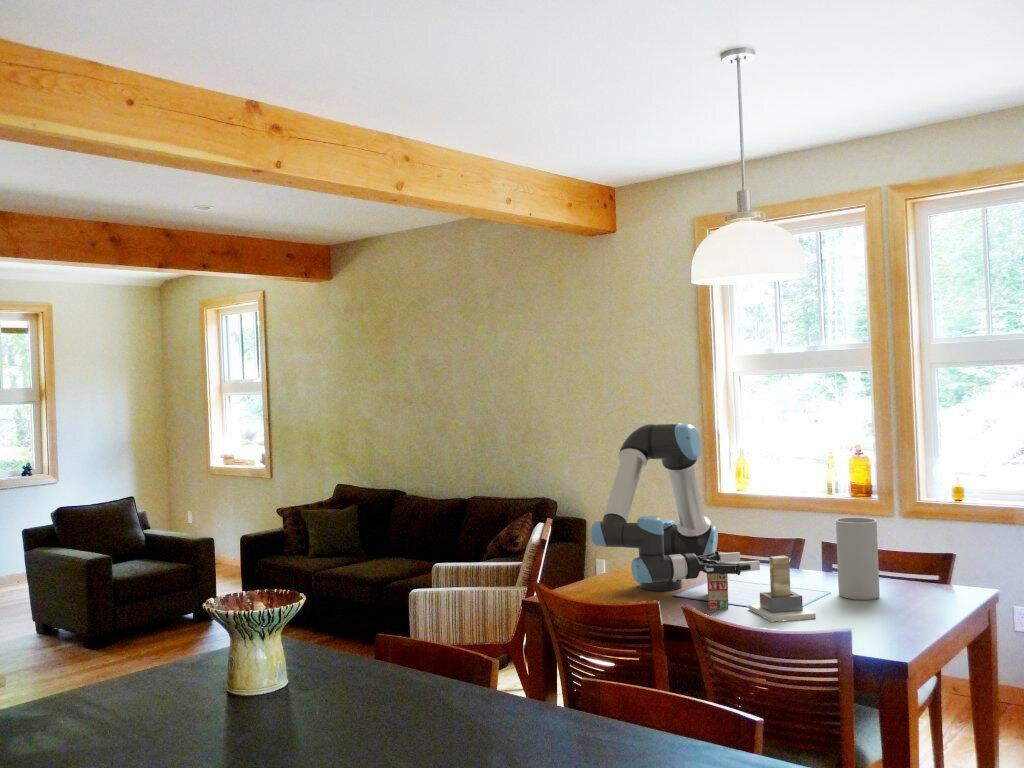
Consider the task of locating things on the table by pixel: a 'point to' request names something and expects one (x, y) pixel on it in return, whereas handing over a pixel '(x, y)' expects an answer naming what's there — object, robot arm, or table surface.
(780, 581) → the ash slat
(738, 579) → the table surface
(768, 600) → the grey rectangular socket
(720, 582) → the stack of blocks
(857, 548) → the cylinder vase
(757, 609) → the base board
